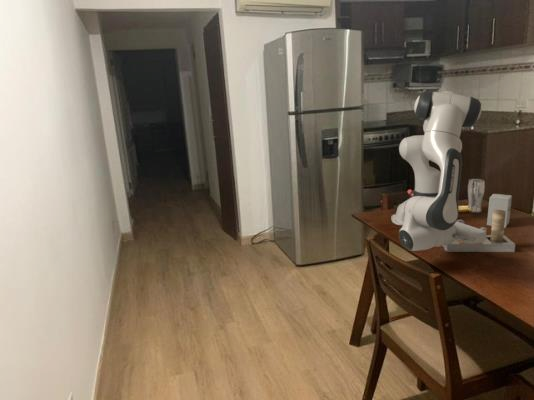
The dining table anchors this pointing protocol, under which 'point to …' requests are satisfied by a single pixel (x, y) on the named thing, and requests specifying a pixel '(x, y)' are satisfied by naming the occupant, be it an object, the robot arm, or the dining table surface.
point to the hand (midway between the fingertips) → (473, 225)
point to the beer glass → (475, 194)
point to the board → (481, 246)
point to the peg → (497, 226)
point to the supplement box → (499, 207)
